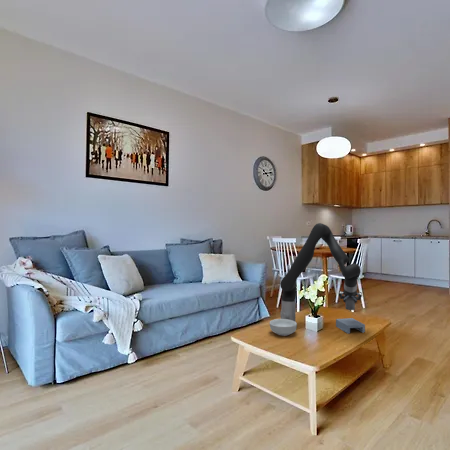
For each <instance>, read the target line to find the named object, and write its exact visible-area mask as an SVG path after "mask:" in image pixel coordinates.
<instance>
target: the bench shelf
mask: <svg viewBox="0 0 450 450" xmlns="http://www.w3.org/2000/svg"><path fill="white" fill-rule="evenodd" d="M335 327H336V328H338V329H339V330H341V331H343V332H344V333H346V334H351V329H355V330H357V331H359V332H361V333H363V334H364V332H365V333H366V324H365V323H363V322H360V321H359V320H356V319H355V318H353V317H351V318H350V317H349V318H347V317H346V318H336V319H335Z"/></svg>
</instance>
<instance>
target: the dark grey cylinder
mask: <svg viewBox="0 0 450 450" xmlns="http://www.w3.org/2000/svg"><path fill="white" fill-rule="evenodd" d="M344 306H345V310H348V311H354V310H355V309H356V308H355V307H356V303H355V300H354V299H353V298H351V297H348V298H347V299H346V301H345V305H344Z"/></svg>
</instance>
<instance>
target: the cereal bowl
mask: <svg viewBox="0 0 450 450" xmlns="http://www.w3.org/2000/svg"><path fill="white" fill-rule="evenodd" d="M269 327H270V330H271V331H272V332H273V333H275V334H276V335H278V336H281V337H284V336H285V337H286V336H289V335H291V334H294V333H295V332H296V330H297V327H298V323H297V322H296V320H295V321H293V320H288V319H281V318H275V319H272V320H270V321H269Z"/></svg>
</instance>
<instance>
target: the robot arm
mask: <svg viewBox="0 0 450 450" xmlns="http://www.w3.org/2000/svg"><path fill="white" fill-rule="evenodd" d="M320 240H323V241H324V242H325V244H326V245H327V246H328V248H329V251H330V254H331V255H332V256H333V259H334V260H335V261H336V263H337V264H338V267H339V269H340V272H341V275H342V277H344V279H343V280H344V283H343V291H341V290H338V296H339V298H340V299H341V300H342V302H344V303H345V301H346V299H347V298H348V297H351V298H353V299H354V300H355V304H357V303H358V301H361V299H362V296H363V293H362V291H359V292H358V279H359V277H360V275H361V272H362V271H361V267H360V265H358V264H357V263H350V264H348V265H346V264H347V263H349V261H350V257H348V255H347V254H346V252H345V251H344V250H343V248H342V247H341V246H340V244H339V242H338V241H337V240H336V238H335V236H334V234H333V232H332V230H331V228H330V226H328V225H327V224H324V223H321V222H318V223H316V224H315V225H313V227H312V229H311V230H310V233H309V234H308V237H307V239H306V241H305V242H304V244H303V246H302V247H301V249H300V251H299V252H298V253H297V255H296V257H295V259H294V261H293V262H292V264H291V266H290V268H289V269H288V272H286V274H285V275H284V277H283V278H281V280H280V288H281V290H282V294H281V310H280V319H288V320H293V321H295V322H296V297H297V280H298V278H299V277H300V275H301V274H302V273H303V272H304V271H305V270H306V268H307V267H308V266H309V265H310V264H311V262H312V259H314V254H315V249H316V246H317V244H318V242H319V241H320ZM345 265H346V266H345Z"/></svg>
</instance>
